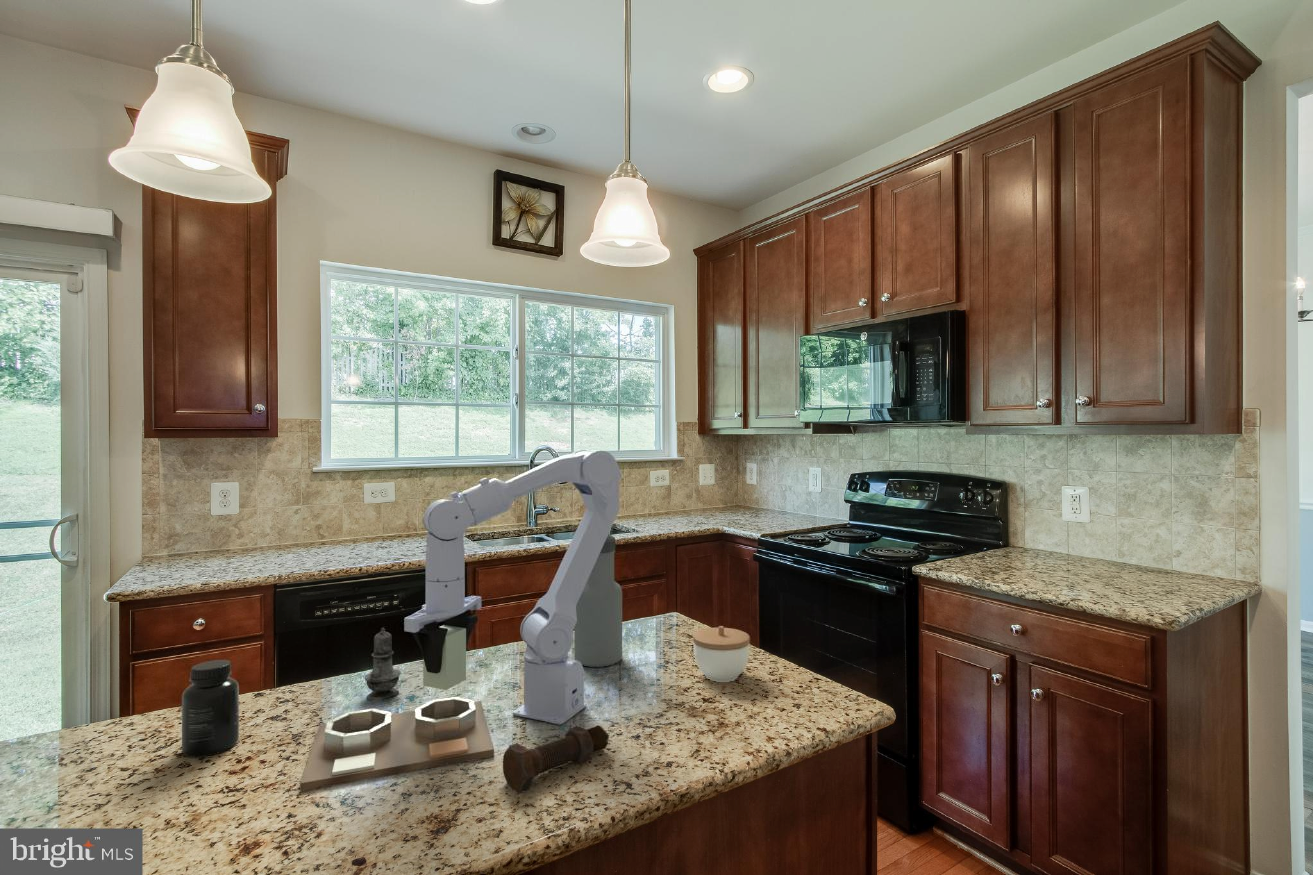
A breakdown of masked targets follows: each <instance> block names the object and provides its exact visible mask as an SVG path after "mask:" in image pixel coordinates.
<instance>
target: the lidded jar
mask: <svg viewBox="0 0 1313 875" xmlns="http://www.w3.org/2000/svg"><path fill="white" fill-rule="evenodd" d="M692 642H693V653H694V659H695V663H696V665H697V668H698V669H699V671H700V672H701V673H702V674H703V675H705V676H706V677H705V676H704V677H705V678H706V679H707V680H708V679H710V680H709V681H711V682H714V681H716V682H715V683H731V682H730V681H732V682H734V681H736V680H737V679H738V678H739V676H740V675H741V674H742V673H743V672H744V671H745V669H746V668H747V665H748V661H749V658H750V657H749V655H750V642H751V637H750V634H748V633H747V632H745V631H742V630H741V629H736V628H729V627H725V626H723V625H719V626H718V627H709V628H708V627H707V628H702V629H699V630H697V631H695V632H694V633H693V635H692ZM735 679H736V680H735Z"/></svg>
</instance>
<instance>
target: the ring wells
mask: <svg viewBox="0 0 1313 875" xmlns="http://www.w3.org/2000/svg"><path fill="white" fill-rule="evenodd" d="M474 702H475V701H474V700H473V699H468V698H465V697H458V696H453V697H446V698H438V699H437V698H436V699H432V700H430V701H428V702H426V703H424V704H422V705H420V706H417V708H415V710H414V711H415V733H416V735H417V736H421V737H425V738H429V739H433V740H434V739H441V738H447V737H453V736H459V735H461V734H463V733H464V732H466V731H468V730H469V729H471V728H473V727H474V726H475V725H476V709H475V705H474ZM391 714H392V712H391V711H387V710H382V709H378V708H368V709H361V710H353V711H348V712H346V713H344V714H341V715H339V716H337V717H335V718H332V719H331V720H328V721H327V723H326V724H327V726H326V729H325V750H327V751H331V752H334V753H338V754H343V755H344V754H350V753H356V752H362V751H368V750H372V749H374V748H376V747H377V746H379V745H381V744H383V743H385V742H386V741H388V740H390V739H391ZM449 715H457V717H452V718H445V719H439V720H435V719H433V718H436V717H443V716H449ZM371 727H372V729H370V730H367V731H361V732H354V733H348V734H345V733H346V732H348V731H351V730H358V729H364V728H371Z"/></svg>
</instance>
